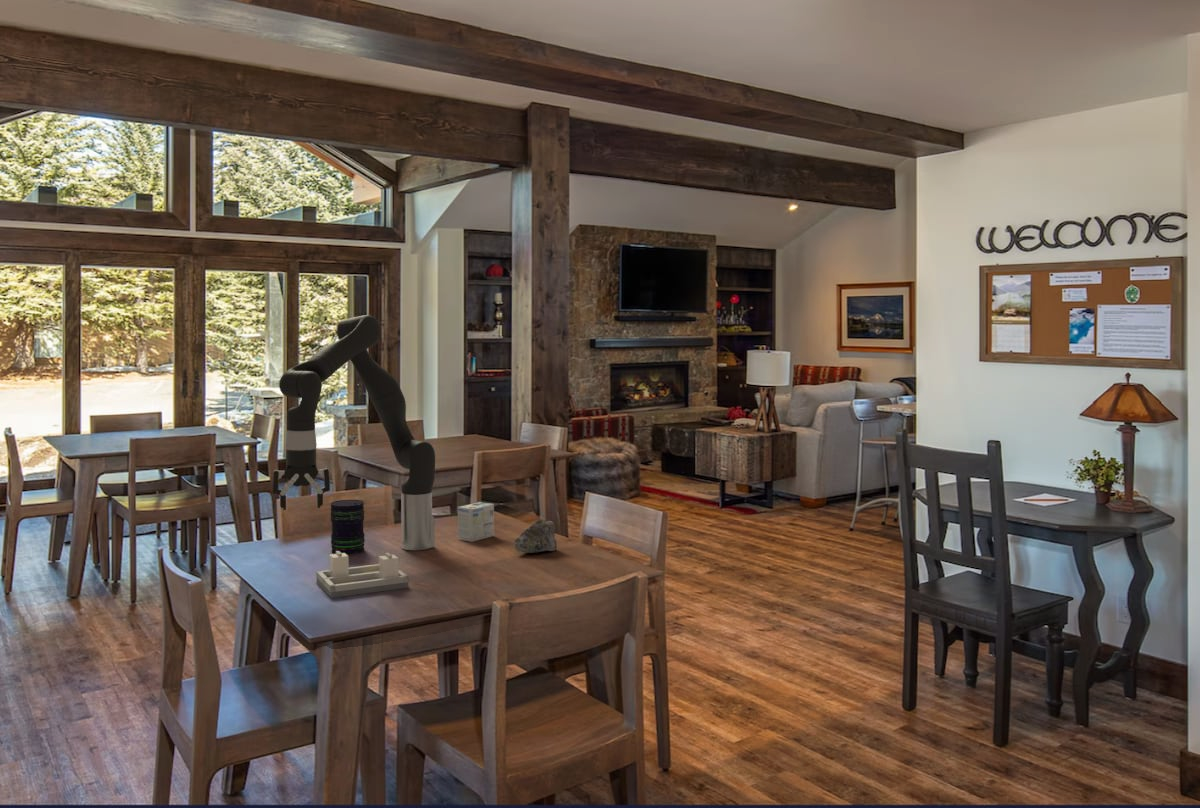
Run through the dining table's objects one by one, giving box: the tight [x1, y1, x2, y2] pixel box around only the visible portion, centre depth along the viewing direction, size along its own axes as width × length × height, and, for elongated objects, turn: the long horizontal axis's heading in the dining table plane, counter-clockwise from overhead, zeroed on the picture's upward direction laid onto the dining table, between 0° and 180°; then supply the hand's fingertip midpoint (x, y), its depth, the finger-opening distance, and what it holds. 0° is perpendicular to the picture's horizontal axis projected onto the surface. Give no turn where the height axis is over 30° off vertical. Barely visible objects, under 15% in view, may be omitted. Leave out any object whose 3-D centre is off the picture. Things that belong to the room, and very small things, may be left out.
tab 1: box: [328, 551, 350, 577], centre depth 245 cm, size 4×4×7 cm
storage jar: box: [330, 499, 366, 556], centre depth 280 cm, size 10×10×15 cm
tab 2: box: [378, 552, 400, 579], centre depth 243 cm, size 4×4×7 cm
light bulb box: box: [457, 501, 495, 543], centre depth 299 cm, size 11×7×11 cm, turn 144°
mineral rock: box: [514, 519, 558, 554], centre depth 281 cm, size 13×11×10 cm
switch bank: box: [316, 563, 409, 599], centre depth 244 cm, size 20×16×3 cm
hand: (301, 508), depth 243 cm, fingers open, 8 cm apart
